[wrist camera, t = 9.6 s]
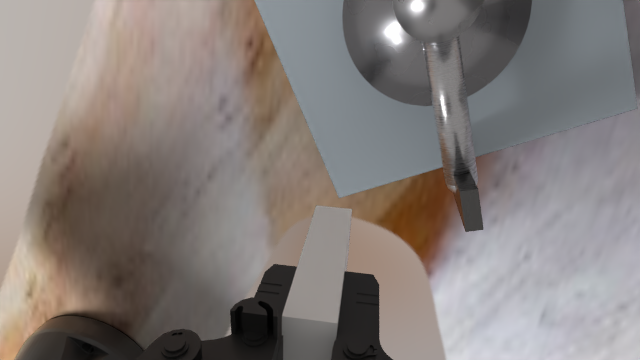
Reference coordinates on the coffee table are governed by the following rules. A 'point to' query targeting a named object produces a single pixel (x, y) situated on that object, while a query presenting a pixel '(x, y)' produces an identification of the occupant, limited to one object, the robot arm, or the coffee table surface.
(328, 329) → the robot arm
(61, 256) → the coffee table surface
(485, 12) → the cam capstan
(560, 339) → the coffee table surface
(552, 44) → the stand
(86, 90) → the coffee table surface
